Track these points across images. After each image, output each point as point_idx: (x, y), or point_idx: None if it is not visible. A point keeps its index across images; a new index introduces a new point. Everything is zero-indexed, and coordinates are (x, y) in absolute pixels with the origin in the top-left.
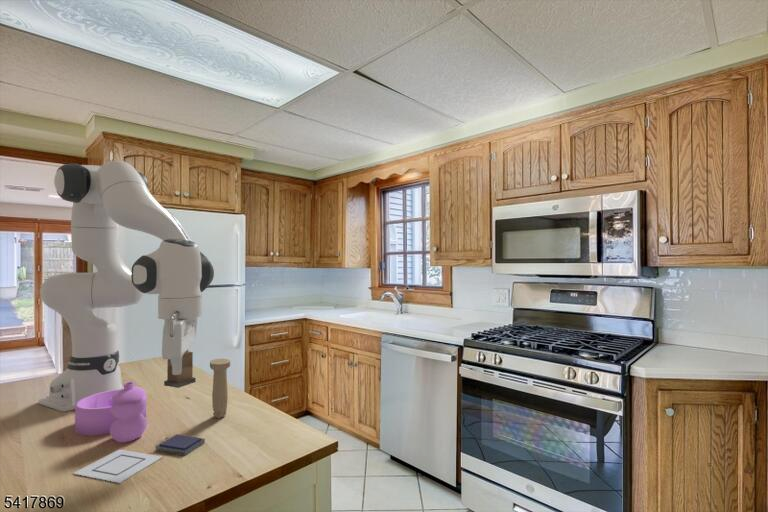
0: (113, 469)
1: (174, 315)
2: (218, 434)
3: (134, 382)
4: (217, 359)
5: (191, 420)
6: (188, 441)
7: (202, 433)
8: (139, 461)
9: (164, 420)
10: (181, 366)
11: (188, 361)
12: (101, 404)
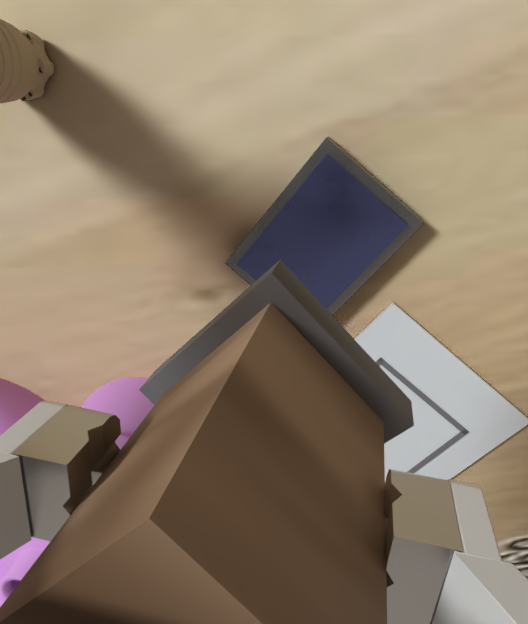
0: (412, 443)
1: None
2: (253, 68)
3: (15, 576)
4: None
5: (49, 204)
6: (339, 212)
7: (212, 149)
8: (394, 375)
9: (25, 310)
10: (499, 555)
11: (266, 465)
12: None
